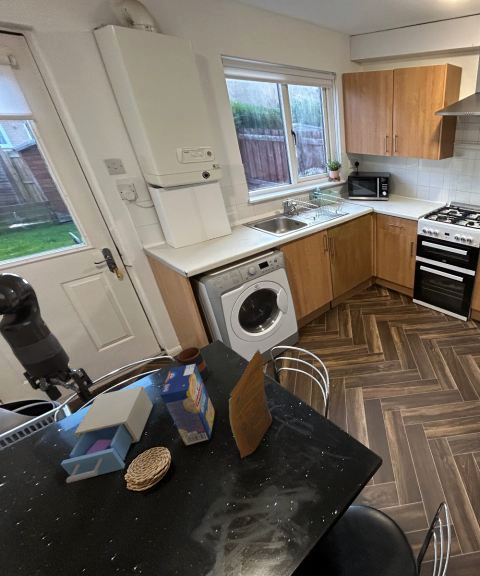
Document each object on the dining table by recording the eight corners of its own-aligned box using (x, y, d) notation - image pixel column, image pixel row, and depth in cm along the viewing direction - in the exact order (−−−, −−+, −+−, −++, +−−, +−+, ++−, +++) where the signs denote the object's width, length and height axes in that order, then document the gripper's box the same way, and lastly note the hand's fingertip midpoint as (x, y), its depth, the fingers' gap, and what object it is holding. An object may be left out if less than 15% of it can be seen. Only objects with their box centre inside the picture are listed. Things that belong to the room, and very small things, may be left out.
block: (92, 463, 88) (85, 454, 86) (104, 449, 92) (98, 439, 90) (107, 463, 88) (100, 454, 86) (119, 449, 92) (113, 439, 90)
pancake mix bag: (283, 411, 106) (268, 348, 92) (252, 465, 90) (228, 398, 76) (265, 408, 107) (247, 345, 94) (231, 461, 91) (204, 394, 77)
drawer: (116, 485, 84) (104, 468, 80) (65, 499, 81) (49, 482, 77) (139, 428, 99) (130, 412, 96) (97, 438, 96) (85, 422, 93)
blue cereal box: (214, 411, 106) (195, 363, 96) (210, 439, 97) (188, 389, 86) (192, 416, 104) (170, 368, 94) (185, 445, 95) (160, 395, 85)
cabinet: (138, 441, 96) (126, 421, 92) (89, 453, 93) (74, 433, 88) (153, 405, 109) (142, 385, 104) (110, 414, 105) (97, 394, 100)
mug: (172, 387, 116) (160, 364, 110) (198, 366, 125) (189, 343, 120) (189, 393, 113) (178, 370, 107) (215, 371, 123) (206, 348, 117)
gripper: (82, 343, 79) (109, 389, 87) (29, 342, 79) (60, 387, 87) (53, 364, 72) (85, 411, 80) (-5, 362, 73) (32, 409, 81)
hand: (72, 399), depth 84 cm, fingers open, 8 cm apart
